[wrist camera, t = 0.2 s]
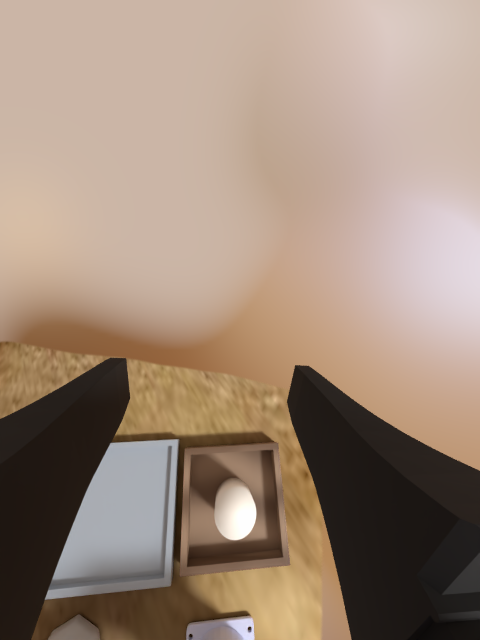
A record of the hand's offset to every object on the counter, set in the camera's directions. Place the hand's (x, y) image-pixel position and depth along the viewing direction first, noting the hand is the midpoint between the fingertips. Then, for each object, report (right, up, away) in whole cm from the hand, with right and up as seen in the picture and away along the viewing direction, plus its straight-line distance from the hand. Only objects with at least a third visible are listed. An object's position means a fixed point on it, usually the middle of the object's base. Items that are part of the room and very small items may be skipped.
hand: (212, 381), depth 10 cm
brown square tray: (0, -23, +24) cm, 33 cm away
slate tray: (-16, -23, +22) cm, 36 cm away
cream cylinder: (0, -23, +23) cm, 33 cm away
